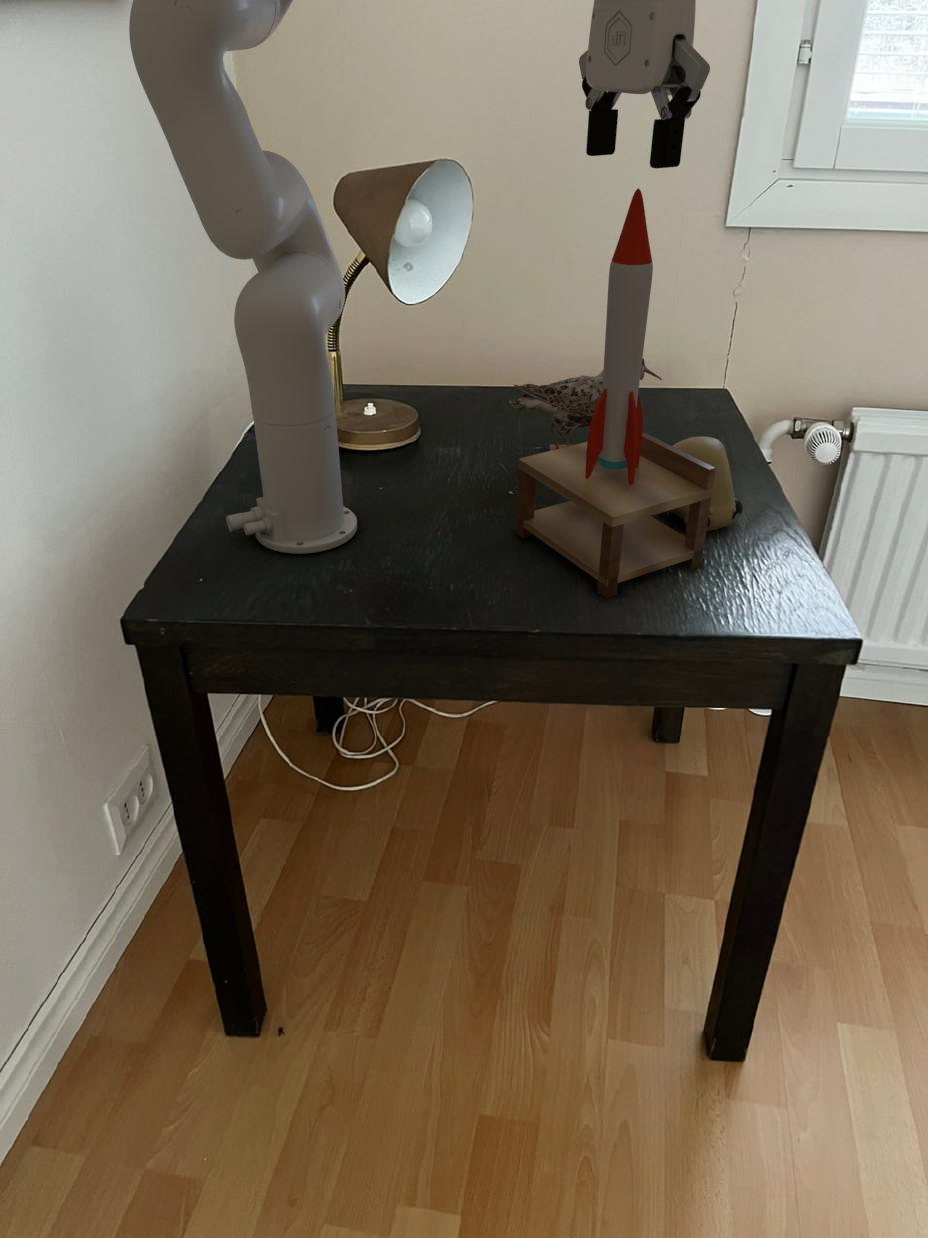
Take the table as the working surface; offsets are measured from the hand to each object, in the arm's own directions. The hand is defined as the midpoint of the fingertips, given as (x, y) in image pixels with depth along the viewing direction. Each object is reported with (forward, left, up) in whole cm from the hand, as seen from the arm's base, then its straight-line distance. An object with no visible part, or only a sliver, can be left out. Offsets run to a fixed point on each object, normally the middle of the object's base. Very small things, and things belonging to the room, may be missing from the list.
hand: (631, 160), depth 92 cm
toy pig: (+15, 0, -43) cm, 45 cm away
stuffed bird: (+13, +22, -43) cm, 50 cm away
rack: (0, -1, -42) cm, 42 cm away
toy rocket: (0, -1, -33) cm, 33 cm away
